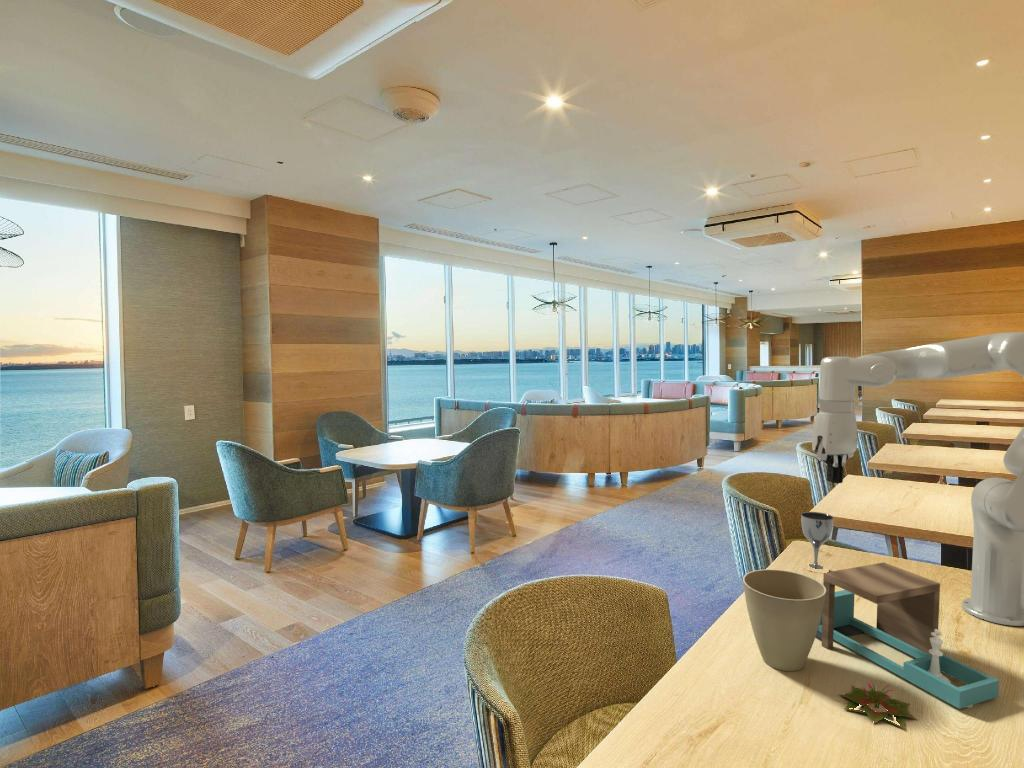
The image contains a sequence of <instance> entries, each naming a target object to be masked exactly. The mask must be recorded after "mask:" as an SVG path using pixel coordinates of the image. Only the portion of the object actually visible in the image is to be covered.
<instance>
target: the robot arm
mask: <svg viewBox="0 0 1024 768" xmlns="http://www.w3.org/2000/svg"><path fill="white" fill-rule="evenodd" d="M819 371H820V374H819V411H818V412H816V415H815V418H814V424H813V430H812V441H811V450H812V451H813V453H817V454H816V459H818V460H821V461H822V460H823V461H824V465H825V466H826V481H827V482H829V483H833V484H843V482H844V467H845V466H846V464H847V463H846V462H847V461H848V459H850V458H852V457H854V455H855V452H856V451H857V449H858V424H857V416H856V413H855V411H856V410H855V409H856V408H855V407H856V386H858V387H859V386H860V387H867V388H874V389H878V388H884V387H888V386H890V384H892V383H893V382H894V381H895V382H896V381H901V380H915V379H917V380H918V379H919V380H946V379H953V378H961V377H966V376H972V375H980V374H986V373H994V372H1001V371H1010V372H1015V373H1017V374H1018V375H1020V376H1022V378H1023V380H1024V331H1023V332H1022V331H1021V332H1020V331H1017V332H1015V331H1012V332H1011V331H1010V332H1009V331H1008V332H998V333H991V334H984V335H979V336H972V337H965V338H959V339H954V340H946V341H941V342H940V341H939V342H933V343H929V344H928V343H927V344H923V345H918V346H914V347H908V348H902V349H894V350H887V351H883V352H882V351H881V352H875V353H869V354H864V355H863V354H862V355H860V356H858V357H852V356H825V357H823V358H821V361H820V368H819ZM1002 461H1003V466H1004V467H1005V469H1006V470H1007V471H1008V472H1009V473H1011V474H1012V475H1014V476H1016V479H1015V480H1014V481H1013V480H1010V479H1007V478H1002V477H988V478H985V479H983V480H981V481H979V482H978V483H977V484H976V485H975V486H974V487H973V489H972V492H971V495H970V499H971V500H970V502H971V503H970V504H971V510H972V511H971V512H972V519H973V542H972V563H971V583H970V584H971V586H970V597H967V598H965V599H963V600H962V602H961V608H962V610H964V611H965V612H966V611H967V613H968V614H970V615H971V616H973V615H974V616H973V617H975V618H976V617H977V619H981V620H983V619H984V621H987V622H990V623H994V624H999V625H1005V626H1011V627H1012V626H1014V627H1024V426H1022V428H1021V429H1020V431H1019V432H1018V434H1017V436H1016V437H1015V438H1014V439H1013V441H1012V443H1011V444H1009V447H1008V448H1007V450H1006V451H1005V453H1004V455H1003V460H1002Z"/></svg>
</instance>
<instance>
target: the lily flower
mask: <svg viewBox="0 0 1024 768" xmlns="http://www.w3.org/2000/svg"><path fill="white" fill-rule="evenodd" d="M870 682H871V684H872V685H873V686H872V685H871V684H870ZM870 682H868V681H867V682H866V683H867V685H868V688H869V689H870V690H867V689H866V687H864V686H863V687H861V688H860V687H856V686H853V685H851V689H852V691H850V692H846V693H844V694H840V696H841V697H844V698H846V699H849V700H851V701H849V702H847V704H846V705H845V707H844V708H843V710H845V711H850V712H851V711H852V712H857V713H860V714H861V713H862V714H864V715H867V716H868V718H869V720H871V723H872V724H873V721H874V722H875V724H876V723H878V722H879V721H881V720H884V721H886V722H888V723H890V724H892V725H894V726H896V727H898V728H901V729H903V730H905V731H907V730H906V726H905V723H906V722H905V720H904V719H903V718H902V717H905V718H909V719H913V720H916V719H917V718H916V717H915V716H914V715H913V714H911V712H910V711H908V707H909V705H911V703H908V702H904V701H901V700H899V699H897V698H896V699H895V698H892V697H891V696H890V695H889V694H888V693H889V692H893V691H894V690H893V689H889V690H886V691H884V690H885V688H886V687H890V684H887V685H886V686H885V687H884V688H882V690H881V691H879V690H876V688H875V685H874V683H873V682H874V681H872V680H870ZM877 687H880V686H879V683H878V686H877ZM883 691H884V692H883ZM859 704H860V705H862V707H863V710H865V712H863V711H860V710H861V709H860V710H854V708H856V707H857V706H859ZM867 704H868V705H867ZM872 704H873V705H874V708H876V707H877V709H879V708H880V706H881V707H882V706H883V708H884V709H885V711H886V712H883V711H876V712H875V710H874V709H873V708H872V707H870V705H872ZM849 708H853V709H851V710H849ZM871 708H872V709H871ZM886 709H887V710H888V711H887V710H886ZM889 715H891V716H892V715H894V717H896V721H897V722H898V723H899V724H900V726H901V727H900V726H899V725H897V724H895V723H893V722H891V721H888V720H886V719H884V718H885V717H886V718H887V717H889Z"/></svg>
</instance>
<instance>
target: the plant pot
mask: <svg viewBox="0 0 1024 768" xmlns="http://www.w3.org/2000/svg"><path fill="white" fill-rule="evenodd" d="M742 582H743V590H744V595H745V597H744V598H745V603H746V608H747V613H748V617H749V621H750V625H751V629H752V632H753V634H754V635H753V636H754V638H755V641H756V642H755V643H756V644H757V647H758V650H759V653H760V655H761V658H762V660H763V662H764V663H765V664H766V663H767V664H766V665H768V666H769V667H770V668H773V669H776V670H778V671H779V670H780V671H784V672H796V671H799V670H801V669H802V668H803V667H804V665H805V663H806V661H807V659H808V656H809V654H810V652H811V650H812V648H813V644H814V642H815V640H816V638H815V637H816V634H817V631H818V627H819V624H820V620H821V616H822V611H823V606H824V601H825V596H826V588H825V586H824V585H823V582H820V581H819V580H817V579H815V578H813V577H811V576H808V575H806V574H802V573H799V572H796V571H789V570H785V569H784V570H783V569H772V568H771V569H769V568H767V569H764V568H763V569H755V570H752V571H749V572H747V573H745V574H744V575H743V577H742Z"/></svg>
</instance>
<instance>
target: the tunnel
mask: <svg viewBox="0 0 1024 768" xmlns="http://www.w3.org/2000/svg"><path fill="white" fill-rule="evenodd" d="M822 584H823V585H824V586H825V588H826V596H825V601H824V606H823V612H822V633H821V632H819V631H817V634H816V637H815V639H817V640H819V641H820V642H821V646H822V647H823V648H825V649H827V650H828V649H833V648H834V641H835V640H834V639H833V634H834V630H835V631H837V632H839V633H841V634H843V635H844V636H846V637H852V636H854V635H860V634H864V633H866V632H864V631H862V630H860V629H858V628H856V627H854V626H852V625H846V626H841V627H837V628H834V601H835V592H836V587H838V588H841V589H843V590H847V591H849V592H851V593H853V594H854V595H856V596H859V597H860V598H863V599H864V600H867V601H869V602H872V603H874V604H876V626H875V628H877V629H879V630H881V631H883V632H885V633H887V634H889V635H891V636H893V637H895V638H897V639H899V640H901V641H903V642H905V643H907V644H909V645H911V646H913V647H915V648H917V649H919V650H921V651H923V652H925V653H927V654H930V655H932V654H931V653H929V649H933V648H932V646H931V642H930V638H931V637H934V636H932V635H931V632H935V629H938V630H939V622H940V597H941V594H940V593H941V583H940V582H938V581H935V580H933V579H929V578H927V577H924V576H923V575H922V576H921V575H919V574H916V573H913V572H911V571H908V570H905V569H902V568H899V567H897V566H895V565H892V564H890V563H887V562H879V563H873V564H867V565H861V566H856V567H851V568H845V569H839V570H838V569H837V570H834V571H830V572H827V573H823V582H822Z"/></svg>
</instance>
